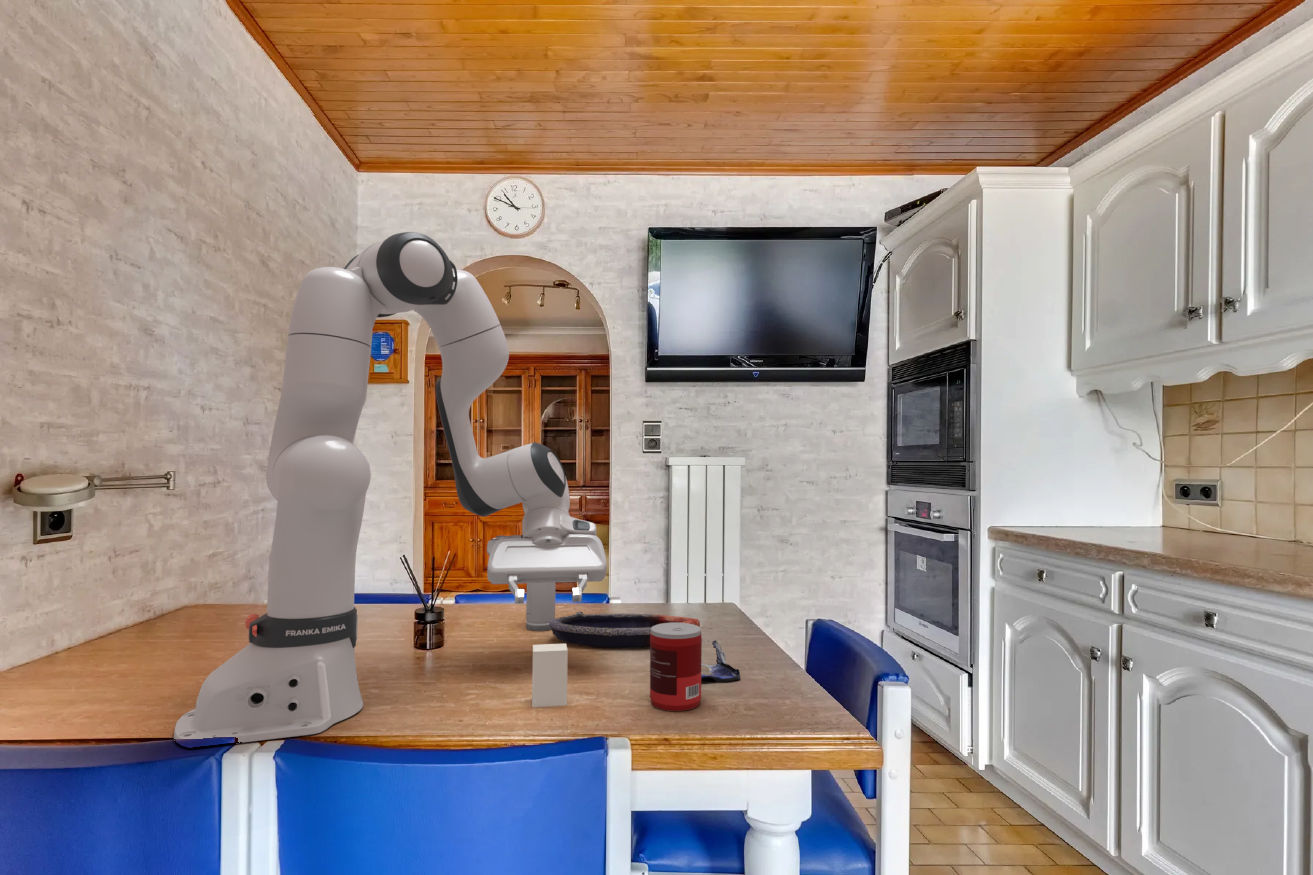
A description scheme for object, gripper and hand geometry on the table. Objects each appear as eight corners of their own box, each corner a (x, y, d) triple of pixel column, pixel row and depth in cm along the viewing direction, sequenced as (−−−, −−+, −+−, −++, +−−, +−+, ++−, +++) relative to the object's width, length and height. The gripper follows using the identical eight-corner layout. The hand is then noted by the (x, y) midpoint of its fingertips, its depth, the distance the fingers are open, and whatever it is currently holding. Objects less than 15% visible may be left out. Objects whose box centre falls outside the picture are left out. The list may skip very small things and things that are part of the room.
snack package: (743, 668, 120) (678, 662, 122) (744, 633, 119) (679, 628, 121) (738, 701, 108) (667, 694, 110) (739, 664, 107) (667, 657, 110)
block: (566, 705, 99) (567, 650, 99) (532, 707, 98) (533, 651, 98) (565, 696, 103) (566, 643, 103) (531, 698, 102) (532, 644, 102)
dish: (556, 632, 145) (556, 608, 145) (698, 634, 144) (698, 610, 144) (541, 651, 129) (542, 624, 130) (701, 653, 128) (701, 626, 129)
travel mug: (519, 630, 145) (521, 537, 146) (535, 623, 151) (536, 534, 152) (545, 632, 143) (546, 538, 144) (559, 626, 149) (561, 535, 150)
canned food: (702, 694, 104) (702, 622, 104) (700, 713, 96) (700, 635, 96) (652, 692, 105) (653, 621, 105) (647, 710, 97) (647, 633, 97)
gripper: (487, 524, 117) (483, 591, 107) (604, 523, 121) (610, 587, 111) (488, 547, 121) (484, 613, 111) (601, 545, 125) (607, 609, 115)
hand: (548, 600), depth 111 cm, fingers open, 8 cm apart
